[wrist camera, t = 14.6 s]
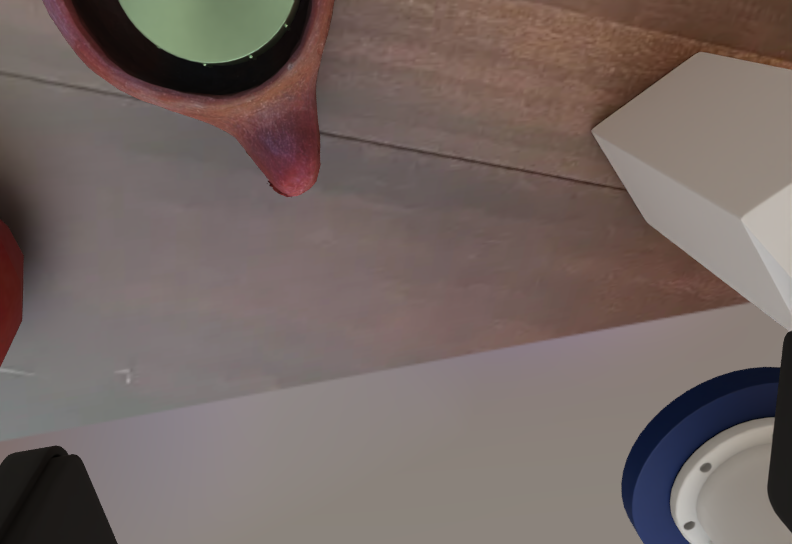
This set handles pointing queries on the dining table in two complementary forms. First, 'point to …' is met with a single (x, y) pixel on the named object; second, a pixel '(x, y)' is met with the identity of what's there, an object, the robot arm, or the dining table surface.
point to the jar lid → (212, 27)
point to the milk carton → (715, 170)
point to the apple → (9, 288)
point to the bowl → (217, 83)
